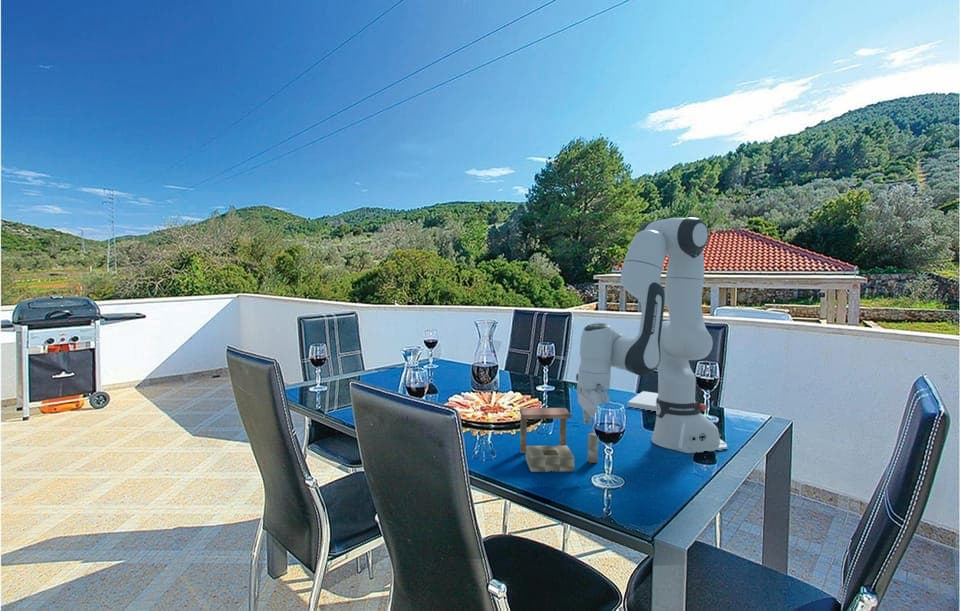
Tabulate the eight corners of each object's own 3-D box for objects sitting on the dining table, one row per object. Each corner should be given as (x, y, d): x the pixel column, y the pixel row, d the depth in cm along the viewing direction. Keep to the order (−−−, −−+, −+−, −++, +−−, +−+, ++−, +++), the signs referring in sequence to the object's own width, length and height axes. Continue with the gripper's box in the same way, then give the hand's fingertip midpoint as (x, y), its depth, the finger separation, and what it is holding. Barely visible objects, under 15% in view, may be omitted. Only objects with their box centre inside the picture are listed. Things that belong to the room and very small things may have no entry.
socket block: (566, 458, 142) (566, 445, 142) (574, 471, 133) (574, 456, 133) (525, 459, 142) (526, 445, 142) (530, 471, 133) (530, 457, 133)
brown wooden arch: (564, 450, 149) (565, 407, 149) (569, 458, 142) (570, 414, 142) (519, 450, 149) (519, 408, 148) (522, 459, 142) (523, 414, 141)
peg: (596, 460, 142) (596, 433, 141) (598, 463, 139) (599, 436, 138) (586, 460, 142) (587, 433, 141) (589, 463, 139) (589, 436, 138)
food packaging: (665, 415, 191) (678, 403, 207) (665, 407, 190) (678, 395, 207) (627, 409, 199) (642, 398, 216) (627, 401, 199) (642, 391, 215)
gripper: (617, 389, 128) (614, 440, 129) (594, 373, 149) (592, 418, 150) (593, 388, 128) (590, 440, 129) (574, 373, 148) (572, 418, 149)
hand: (591, 428), depth 139 cm, fingers open, 8 cm apart
